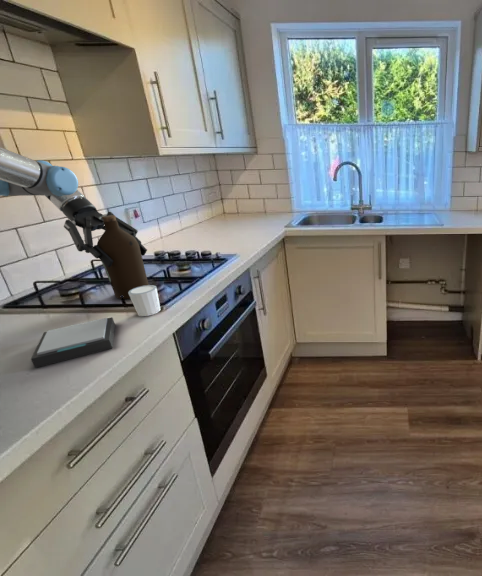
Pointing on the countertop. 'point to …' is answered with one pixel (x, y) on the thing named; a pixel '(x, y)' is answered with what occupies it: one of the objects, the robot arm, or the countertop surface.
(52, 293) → the countertop surface
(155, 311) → the white faceted cylinder
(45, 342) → the scale
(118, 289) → the olive oil
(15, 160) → the robot arm
